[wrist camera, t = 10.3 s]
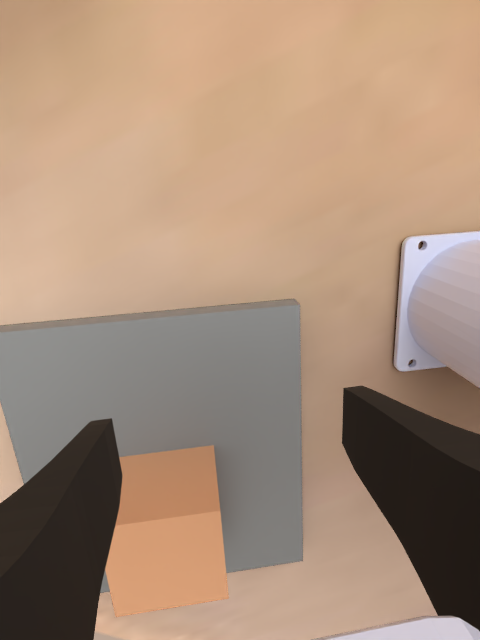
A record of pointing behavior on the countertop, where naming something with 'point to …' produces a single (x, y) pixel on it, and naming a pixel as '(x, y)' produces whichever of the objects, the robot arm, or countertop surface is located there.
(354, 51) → the countertop surface
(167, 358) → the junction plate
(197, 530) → the peach orange cube
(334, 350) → the countertop surface
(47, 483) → the robot arm
